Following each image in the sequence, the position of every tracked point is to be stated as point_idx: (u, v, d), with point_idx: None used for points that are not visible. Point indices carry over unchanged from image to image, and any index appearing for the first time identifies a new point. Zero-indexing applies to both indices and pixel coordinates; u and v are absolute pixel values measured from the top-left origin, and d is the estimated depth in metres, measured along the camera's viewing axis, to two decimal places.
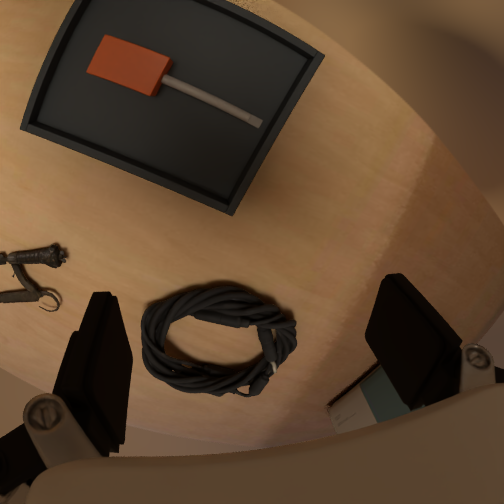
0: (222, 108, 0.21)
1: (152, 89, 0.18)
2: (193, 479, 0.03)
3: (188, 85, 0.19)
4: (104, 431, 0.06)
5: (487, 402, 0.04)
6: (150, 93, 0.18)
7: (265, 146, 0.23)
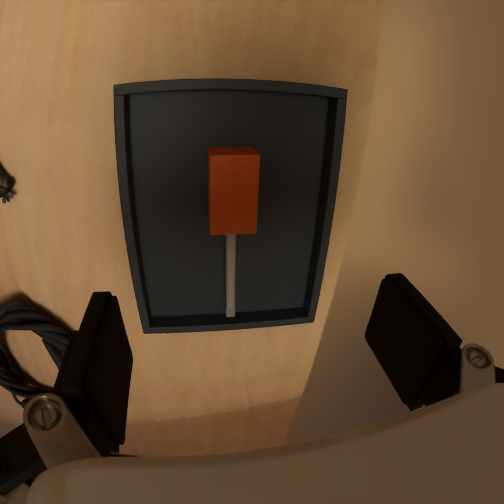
0: (227, 287, 0.24)
1: (218, 234, 0.20)
2: (193, 479, 0.03)
3: (234, 252, 0.22)
4: (104, 431, 0.06)
5: (487, 402, 0.04)
6: (213, 234, 0.20)
7: (214, 327, 0.26)
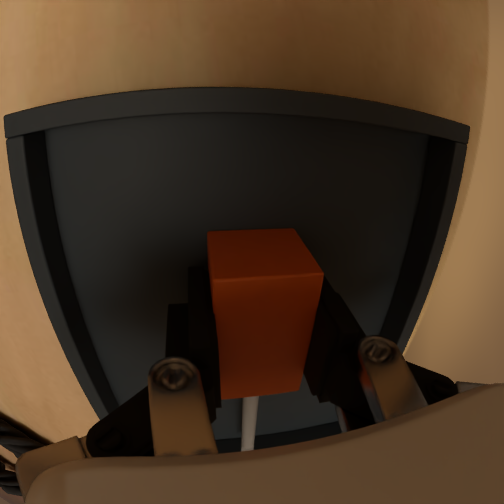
0: (244, 431, 0.14)
1: (232, 397, 0.10)
2: (193, 479, 0.03)
3: (257, 398, 0.13)
4: (213, 392, 0.08)
5: (487, 402, 0.04)
6: (223, 398, 0.10)
7: None
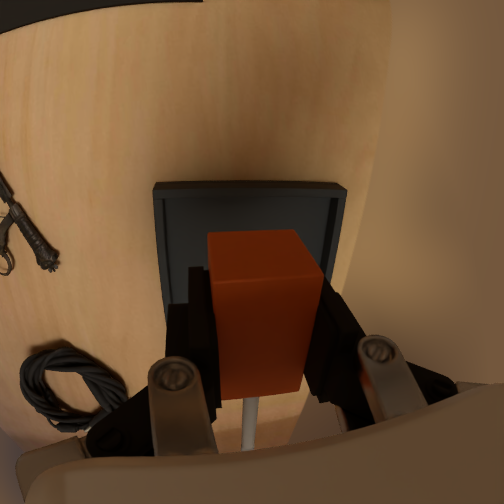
0: (245, 431, 0.14)
1: (232, 398, 0.10)
2: (193, 479, 0.03)
3: (257, 399, 0.13)
4: (213, 392, 0.08)
5: (487, 402, 0.04)
6: (224, 399, 0.10)
7: None
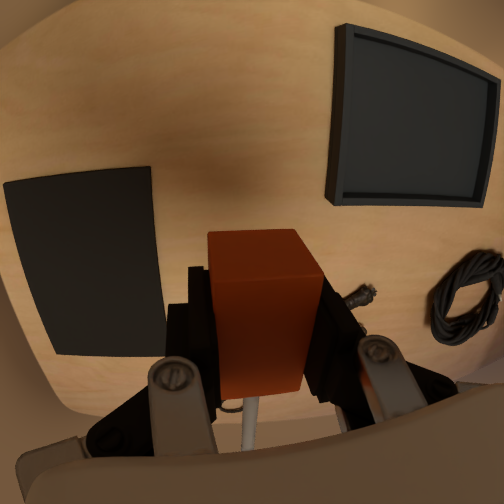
0: (245, 431, 0.14)
1: (232, 398, 0.10)
2: (193, 479, 0.03)
3: (257, 398, 0.13)
4: (213, 392, 0.08)
5: (487, 402, 0.04)
6: (224, 398, 0.10)
7: (491, 155, 0.25)
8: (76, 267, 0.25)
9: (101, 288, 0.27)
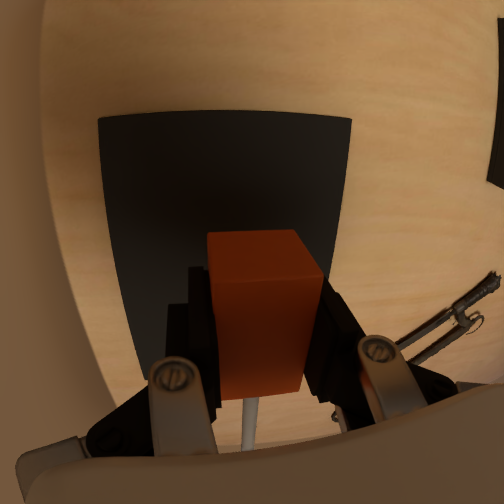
0: (245, 432, 0.14)
1: (232, 398, 0.10)
2: (193, 479, 0.03)
3: (257, 399, 0.13)
4: (213, 392, 0.08)
5: (487, 402, 0.04)
6: (224, 399, 0.10)
7: None
8: None
9: None
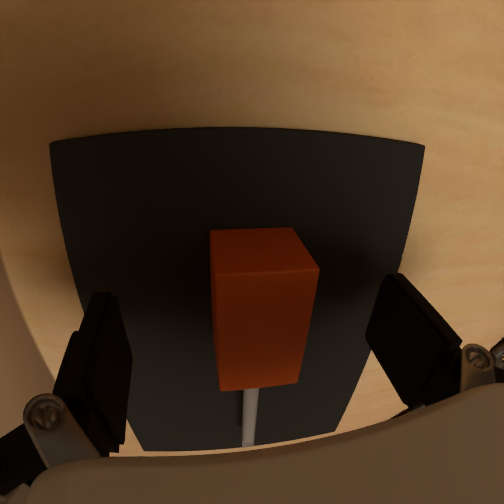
0: (245, 425, 0.14)
1: (233, 389, 0.11)
2: (193, 479, 0.03)
3: (257, 392, 0.13)
4: (104, 431, 0.06)
5: (487, 402, 0.04)
6: (225, 390, 0.11)
7: None
8: None
9: None
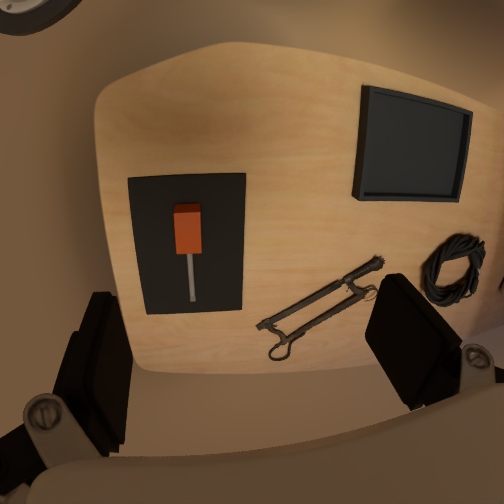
0: (189, 283, 0.40)
1: (180, 253, 0.37)
2: (193, 479, 0.03)
3: (192, 263, 0.39)
4: (104, 431, 0.06)
5: (487, 402, 0.04)
6: (178, 253, 0.37)
7: (464, 165, 0.39)
8: None
9: (199, 257, 0.41)
